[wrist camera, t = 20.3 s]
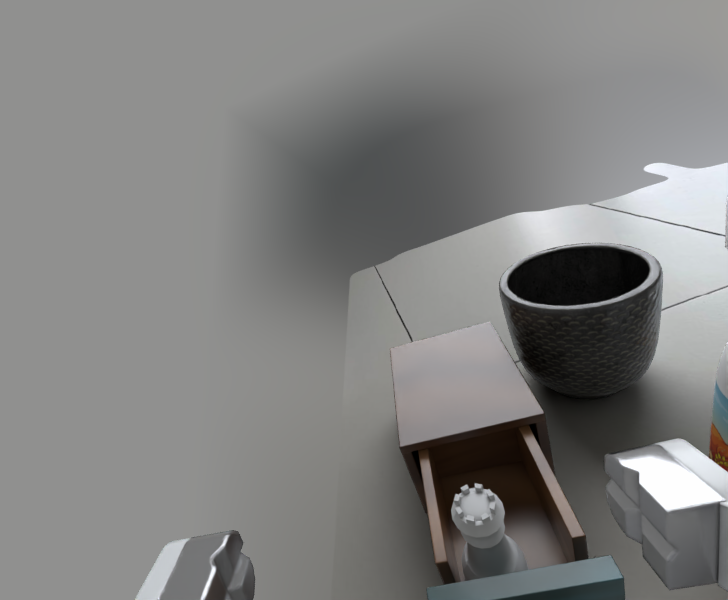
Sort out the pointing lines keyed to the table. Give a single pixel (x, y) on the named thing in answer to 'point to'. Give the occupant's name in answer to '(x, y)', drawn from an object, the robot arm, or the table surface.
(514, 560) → the rook chess piece
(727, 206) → the cup
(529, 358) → the planter
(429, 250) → the table surface
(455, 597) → the drawer
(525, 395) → the cabinet
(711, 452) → the milk bottle
